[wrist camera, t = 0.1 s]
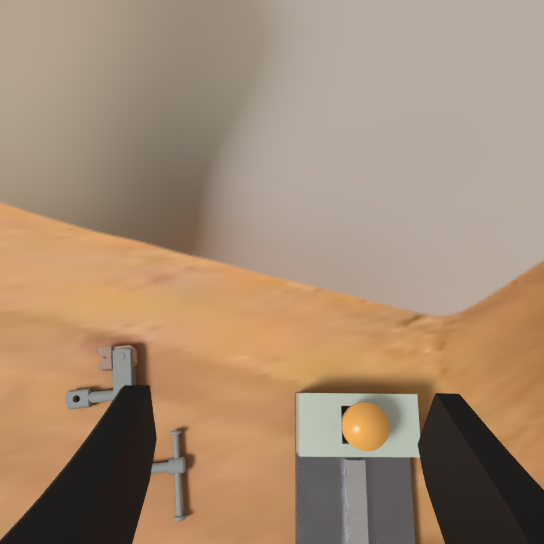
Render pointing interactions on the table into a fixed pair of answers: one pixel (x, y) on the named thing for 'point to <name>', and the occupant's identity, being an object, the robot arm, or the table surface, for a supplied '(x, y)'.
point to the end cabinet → (328, 432)
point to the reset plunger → (365, 426)
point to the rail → (353, 499)
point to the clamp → (123, 374)
